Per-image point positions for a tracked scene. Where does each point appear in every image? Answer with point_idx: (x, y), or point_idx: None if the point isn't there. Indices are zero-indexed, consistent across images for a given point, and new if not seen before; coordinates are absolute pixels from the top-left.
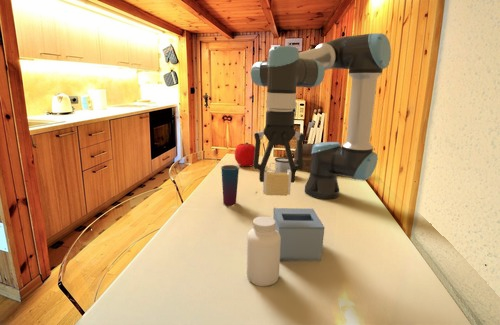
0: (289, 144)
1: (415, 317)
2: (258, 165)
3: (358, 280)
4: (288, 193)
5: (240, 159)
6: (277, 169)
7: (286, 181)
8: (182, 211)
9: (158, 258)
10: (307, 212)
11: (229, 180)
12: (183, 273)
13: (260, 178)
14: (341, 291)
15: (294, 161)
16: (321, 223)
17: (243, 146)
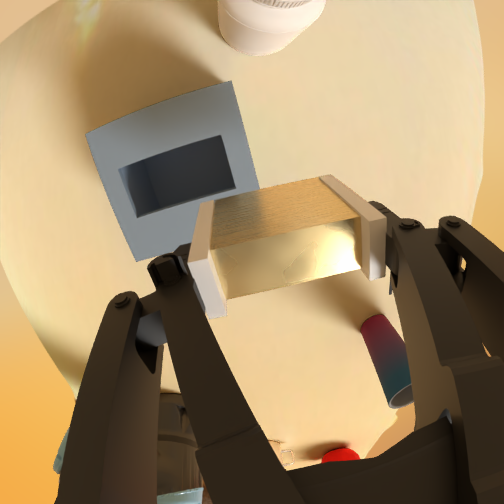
0: (209, 493)
1: (5, 43)
2: (442, 241)
3: (57, 87)
4: (208, 203)
5: (350, 456)
6: (277, 453)
7: (221, 228)
8: None
9: (462, 75)
10: (147, 226)
11: (402, 359)
12: (412, 28)
13: (382, 208)
14: (90, 38)
15: None
16: (95, 158)
17: None
